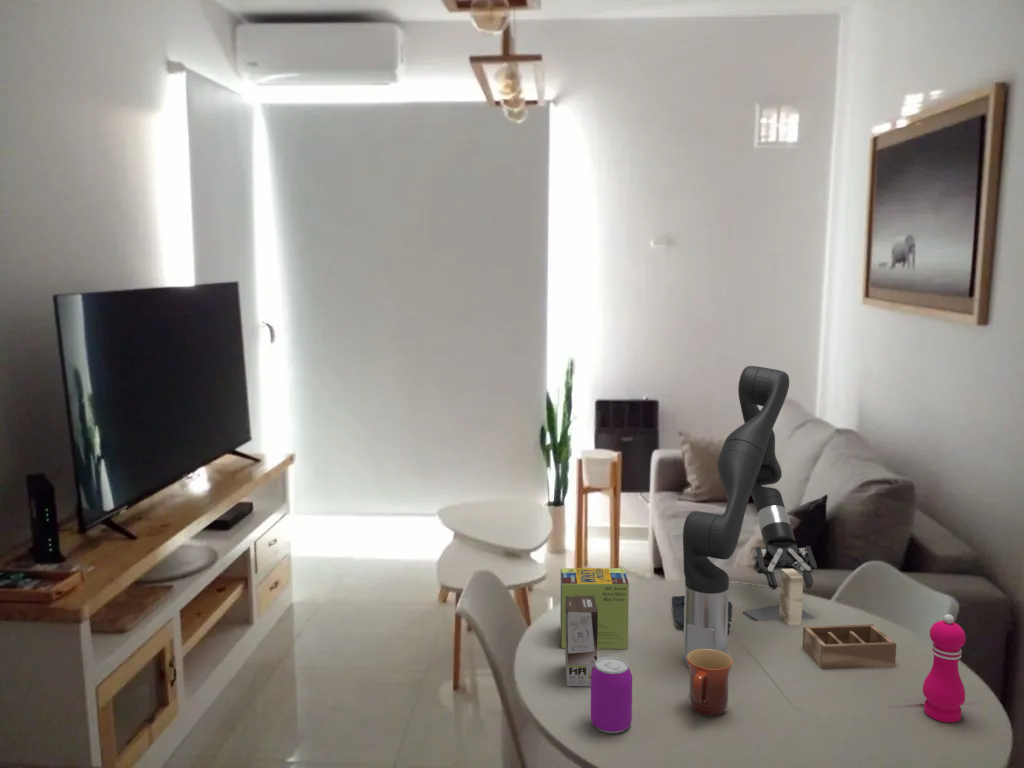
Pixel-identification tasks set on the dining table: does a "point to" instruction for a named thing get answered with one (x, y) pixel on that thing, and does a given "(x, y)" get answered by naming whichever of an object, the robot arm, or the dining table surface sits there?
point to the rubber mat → (770, 614)
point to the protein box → (600, 602)
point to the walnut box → (849, 646)
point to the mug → (709, 681)
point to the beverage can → (611, 695)
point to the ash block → (791, 596)
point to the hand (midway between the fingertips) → (792, 588)
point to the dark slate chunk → (678, 611)
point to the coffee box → (580, 639)
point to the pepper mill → (945, 672)
